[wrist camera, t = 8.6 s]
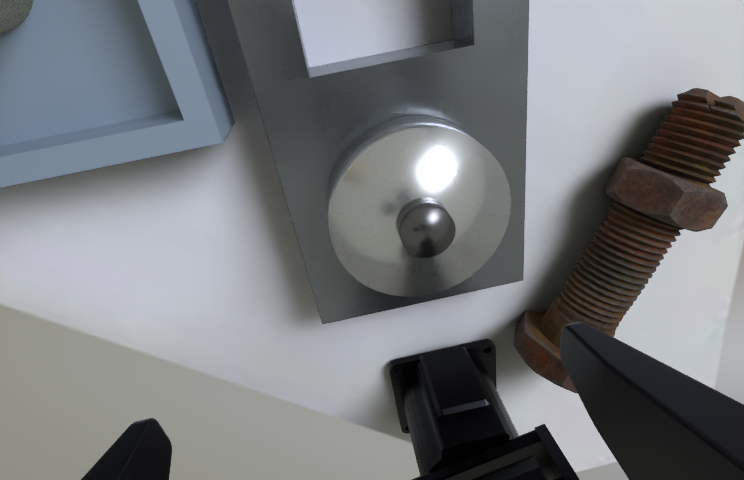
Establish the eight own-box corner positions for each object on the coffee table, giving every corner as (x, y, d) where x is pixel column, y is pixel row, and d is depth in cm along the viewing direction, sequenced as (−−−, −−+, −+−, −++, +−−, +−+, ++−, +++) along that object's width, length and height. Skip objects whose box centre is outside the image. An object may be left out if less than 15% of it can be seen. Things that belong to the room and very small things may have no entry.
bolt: (667, 89, 22) (534, 321, 28) (635, 67, 18) (491, 336, 24) (808, 127, 18) (620, 384, 24) (800, 108, 15) (584, 412, 21)
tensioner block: (502, 253, 23) (554, 319, 18) (320, 293, 23) (324, 371, 18) (498, -205, 14) (598, -311, 9) (195, -152, 14) (135, -234, 9)
